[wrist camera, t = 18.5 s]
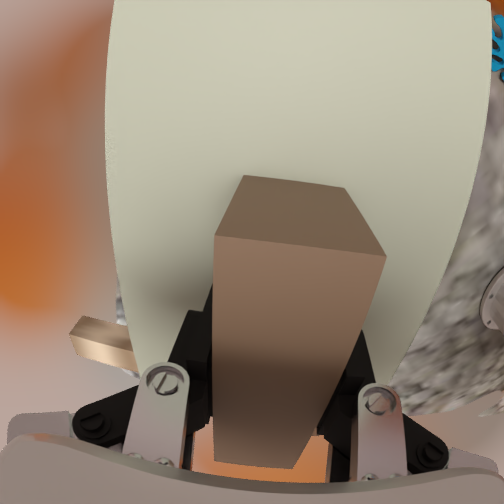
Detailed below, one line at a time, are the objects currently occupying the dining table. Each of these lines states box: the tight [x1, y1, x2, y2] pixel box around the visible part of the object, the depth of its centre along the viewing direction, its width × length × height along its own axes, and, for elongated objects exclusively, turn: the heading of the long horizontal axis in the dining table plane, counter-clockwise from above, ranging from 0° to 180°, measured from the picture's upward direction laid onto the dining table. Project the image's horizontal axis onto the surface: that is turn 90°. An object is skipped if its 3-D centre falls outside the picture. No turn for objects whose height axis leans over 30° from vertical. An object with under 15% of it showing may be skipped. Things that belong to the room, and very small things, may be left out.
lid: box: [105, 0, 492, 469], centre depth 9 cm, size 13×22×6 cm, turn 175°
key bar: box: [69, 316, 139, 372], centre depth 27 cm, size 14×3×3 cm, turn 85°
